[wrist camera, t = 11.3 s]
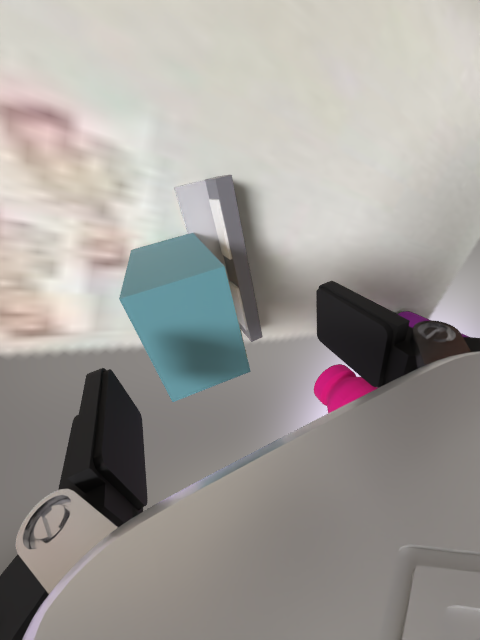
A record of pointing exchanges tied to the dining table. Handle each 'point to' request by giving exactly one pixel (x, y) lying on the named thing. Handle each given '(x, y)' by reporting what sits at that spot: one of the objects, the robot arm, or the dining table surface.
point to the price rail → (222, 240)
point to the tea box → (184, 315)
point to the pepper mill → (340, 387)
